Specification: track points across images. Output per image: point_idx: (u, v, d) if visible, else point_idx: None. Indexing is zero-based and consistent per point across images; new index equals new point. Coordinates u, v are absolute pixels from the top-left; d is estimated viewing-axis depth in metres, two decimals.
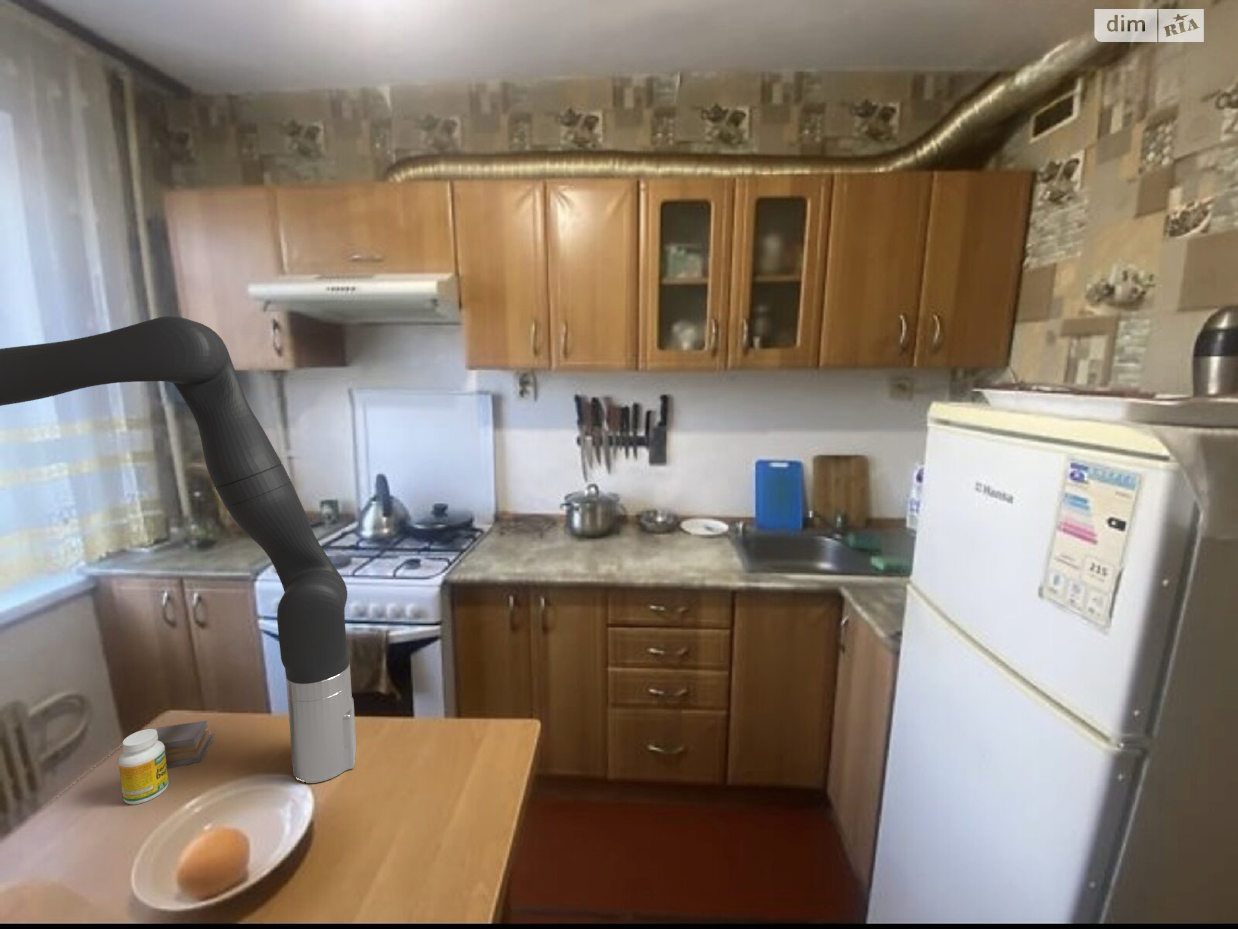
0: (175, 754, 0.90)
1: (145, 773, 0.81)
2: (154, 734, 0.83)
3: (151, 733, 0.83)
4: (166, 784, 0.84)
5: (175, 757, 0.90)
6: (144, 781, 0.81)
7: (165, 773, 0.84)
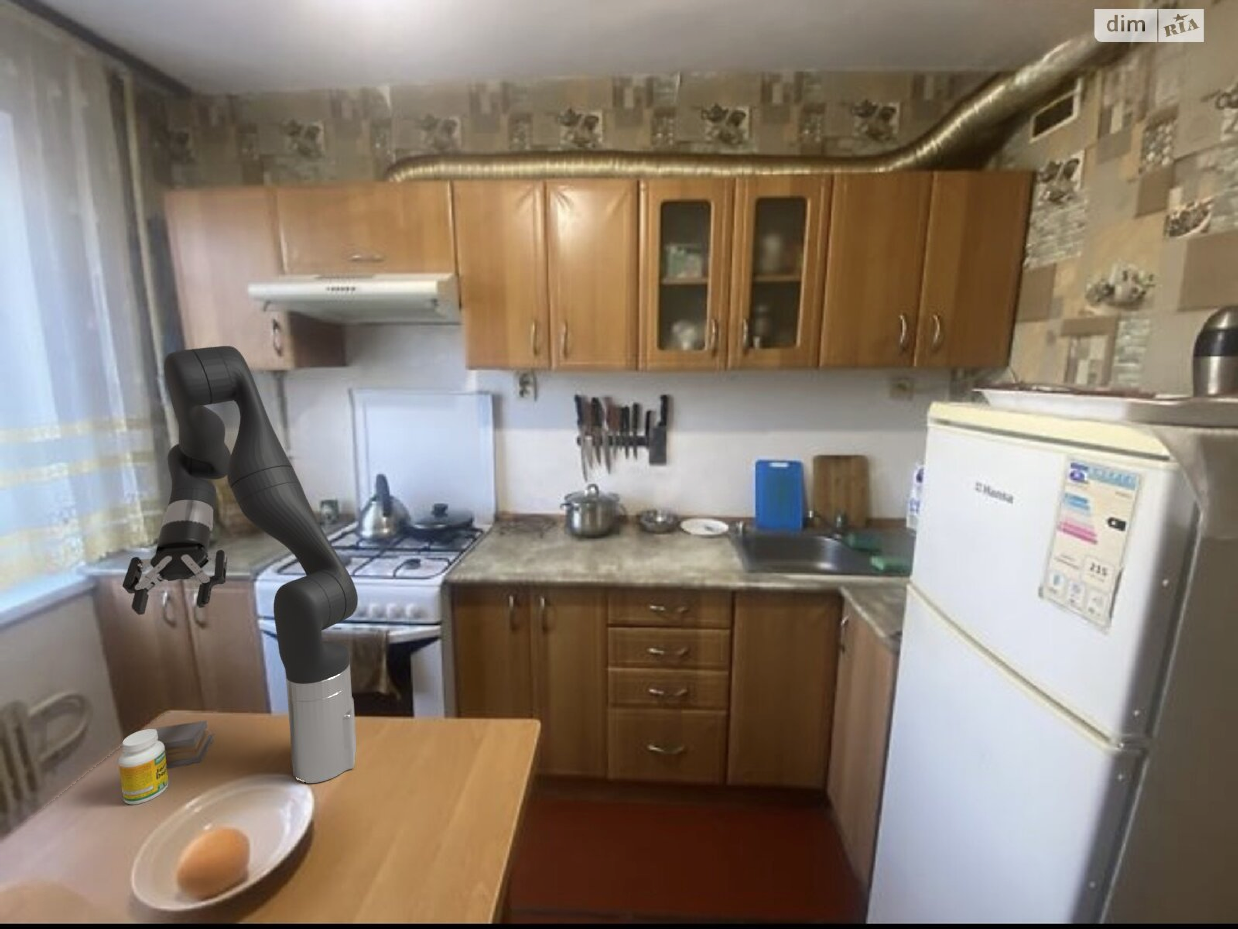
0: (175, 754, 0.90)
1: (145, 773, 0.81)
2: (154, 734, 0.83)
3: (151, 733, 0.83)
4: (166, 784, 0.84)
5: (175, 757, 0.90)
6: (144, 781, 0.81)
7: (165, 773, 0.84)
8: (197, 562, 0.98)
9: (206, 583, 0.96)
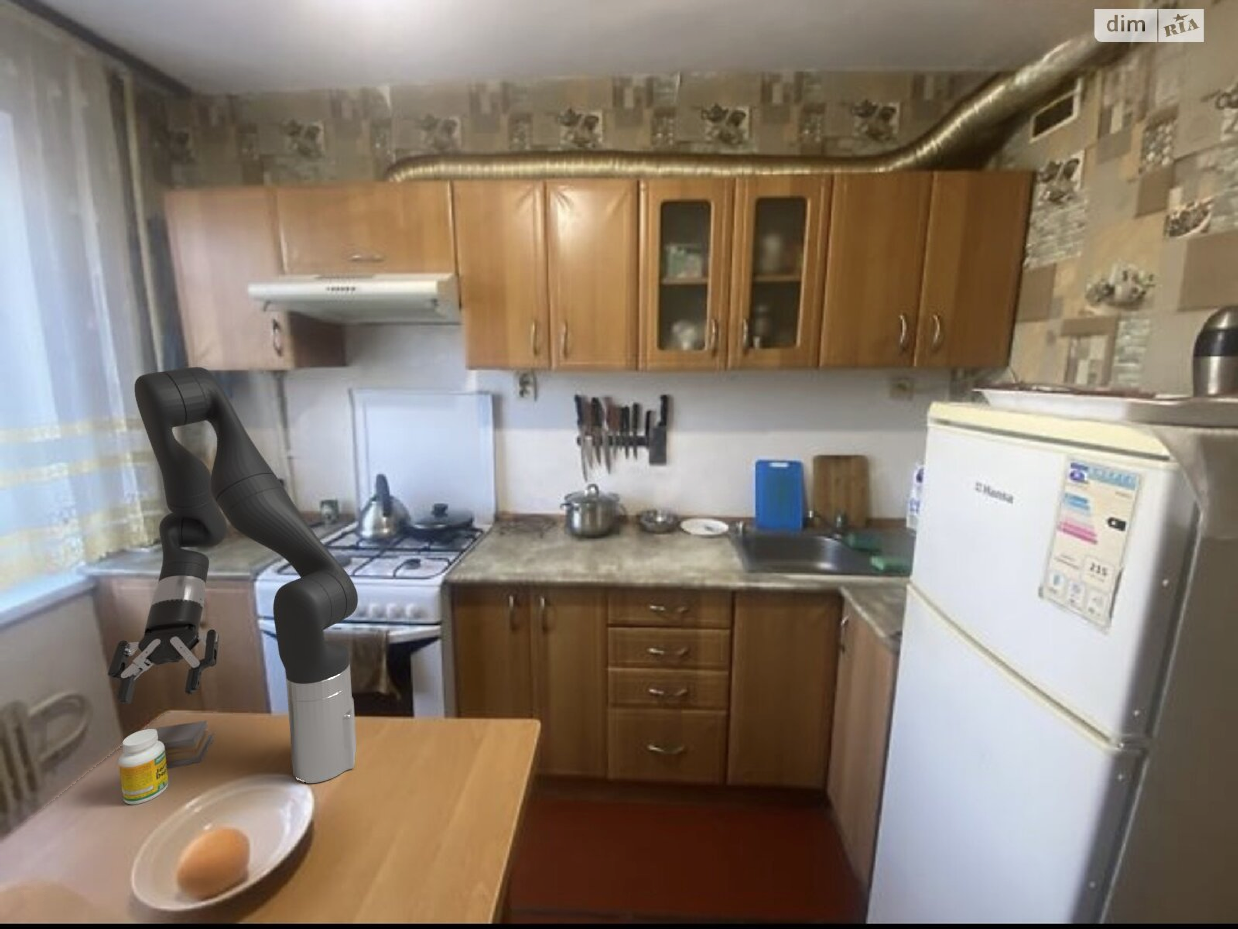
0: (175, 754, 0.90)
1: (145, 773, 0.81)
2: (154, 734, 0.83)
3: (151, 733, 0.83)
4: (166, 784, 0.84)
5: (175, 757, 0.90)
6: (144, 781, 0.81)
7: (165, 773, 0.84)
8: (187, 644, 0.93)
9: (196, 667, 0.92)
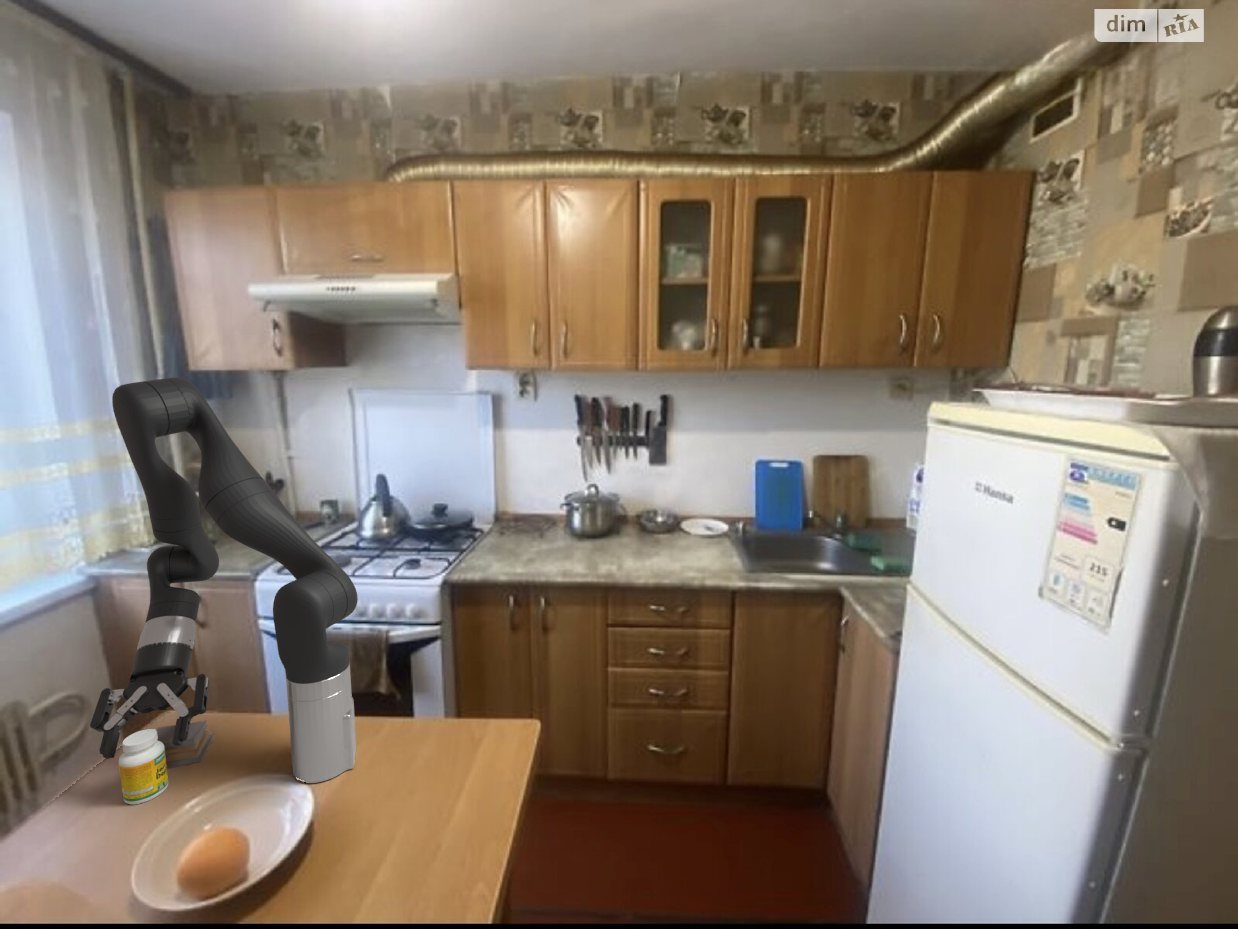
0: (175, 754, 0.90)
1: (145, 773, 0.81)
2: (154, 734, 0.83)
3: (151, 733, 0.83)
4: (166, 784, 0.84)
5: (175, 757, 0.90)
6: (144, 781, 0.81)
7: (165, 773, 0.84)
8: (175, 691, 0.88)
9: (184, 716, 0.86)
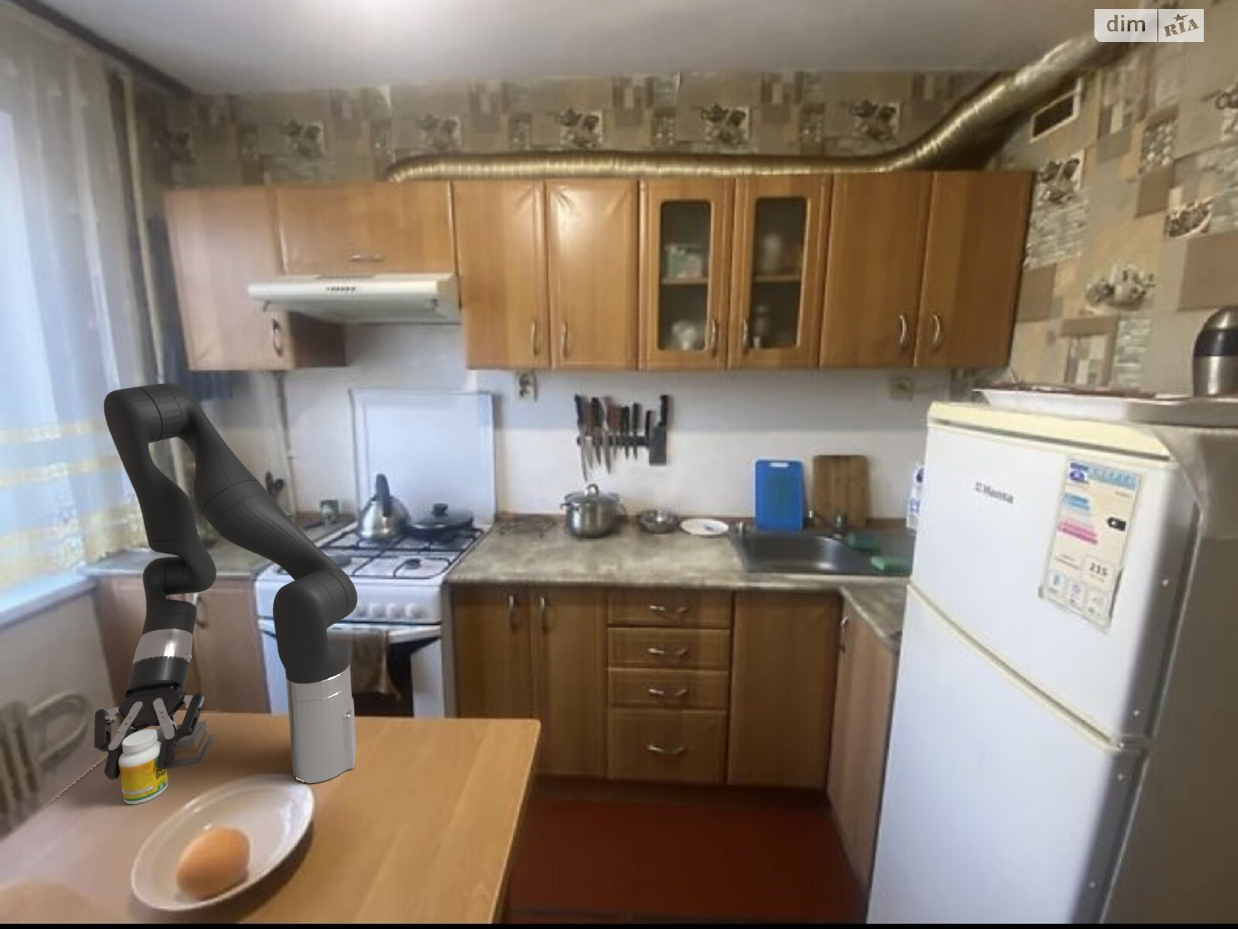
0: (175, 754, 0.90)
1: (145, 773, 0.81)
2: (154, 734, 0.83)
3: (151, 733, 0.83)
4: (166, 784, 0.84)
5: (175, 757, 0.90)
6: (144, 781, 0.81)
7: (165, 773, 0.84)
8: (169, 709, 0.86)
9: (170, 739, 0.84)
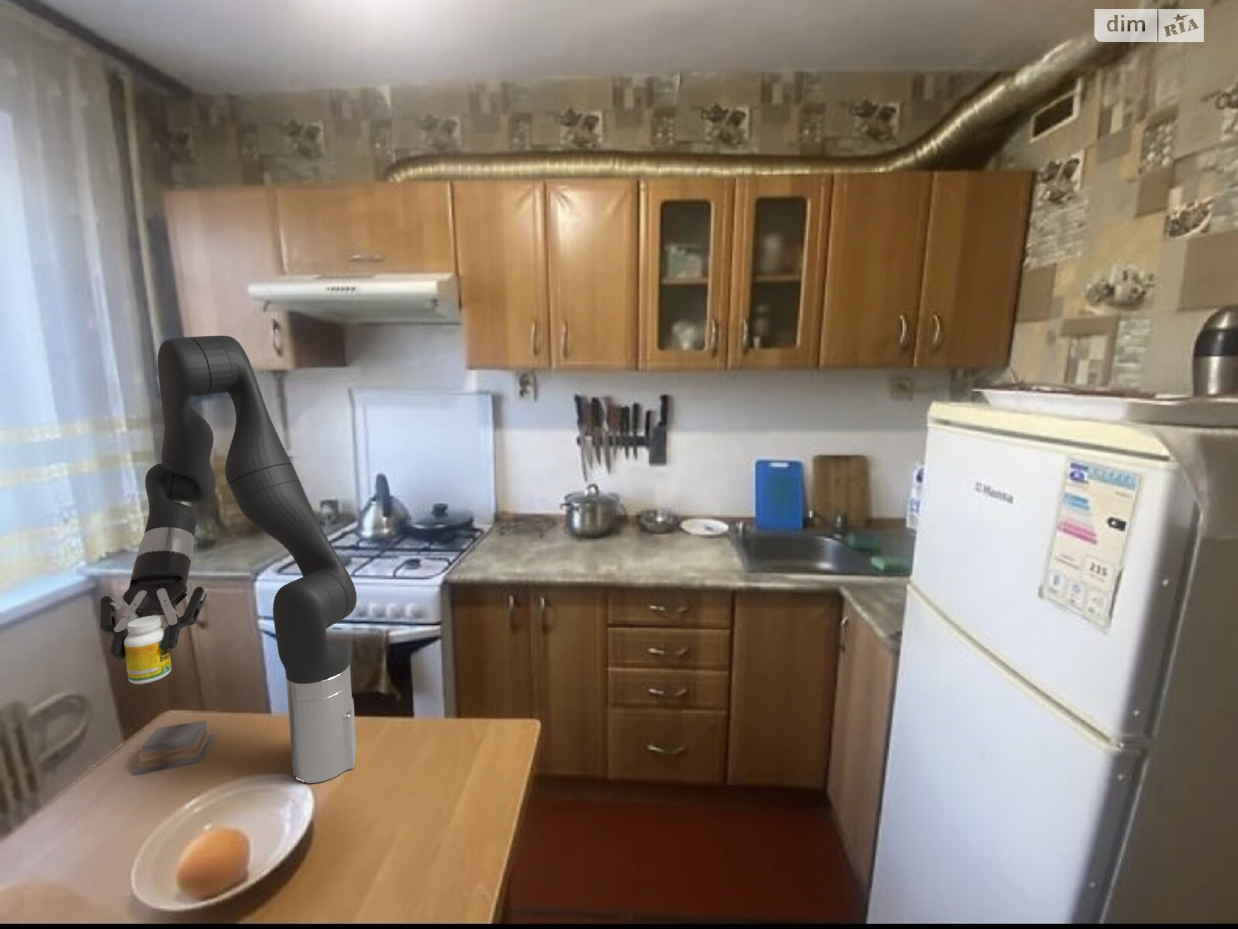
0: (175, 754, 0.90)
1: (149, 654, 0.85)
2: (158, 619, 0.86)
3: (155, 618, 0.86)
4: (169, 669, 0.88)
5: (175, 757, 0.90)
6: (148, 662, 0.85)
7: (168, 658, 0.88)
8: (172, 599, 0.90)
9: (173, 625, 0.87)
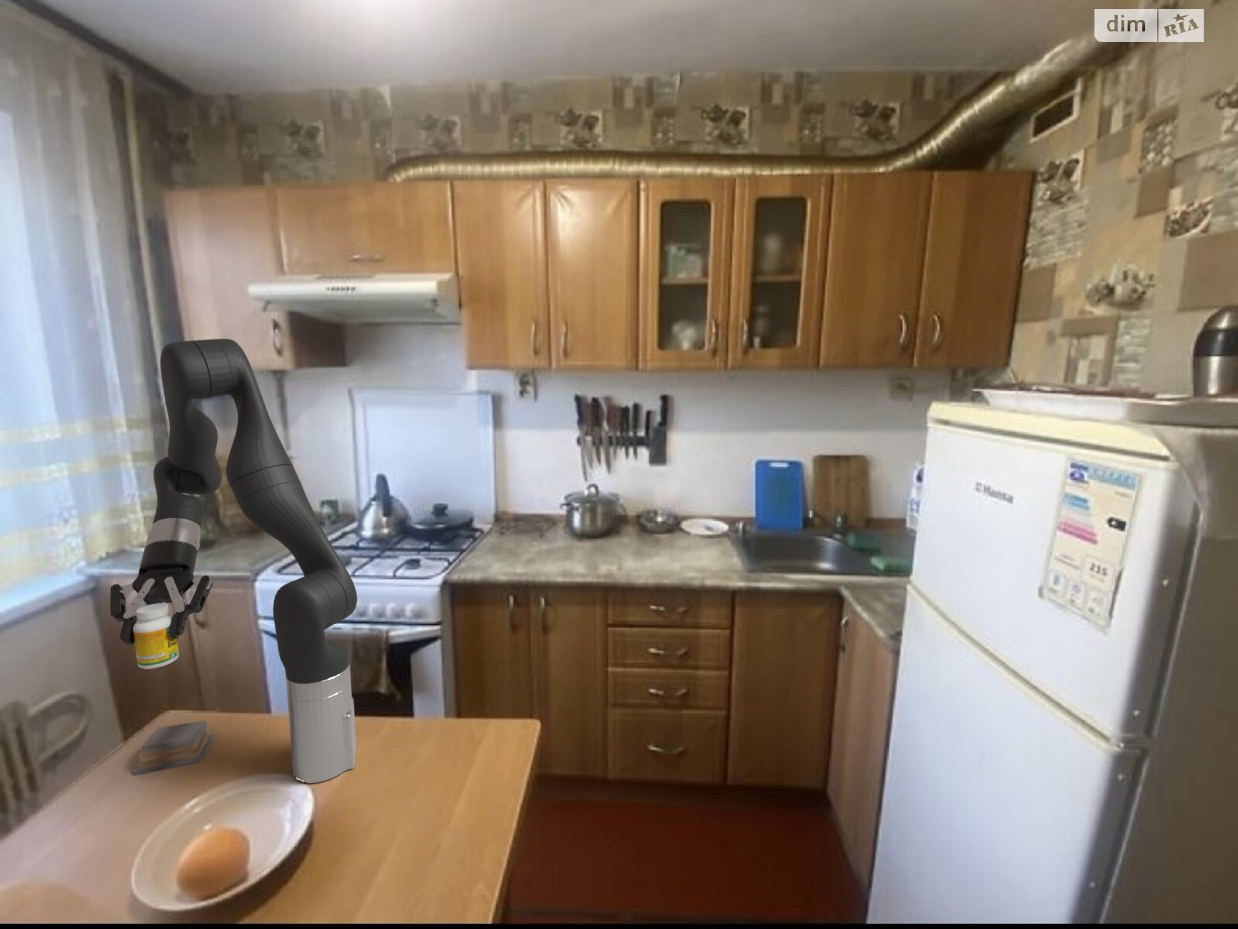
0: (175, 754, 0.90)
1: (157, 639, 0.87)
2: (165, 606, 0.89)
3: (163, 605, 0.89)
4: (177, 654, 0.90)
5: (175, 757, 0.90)
6: (157, 647, 0.87)
7: (176, 644, 0.90)
8: (179, 587, 0.92)
9: (180, 612, 0.90)
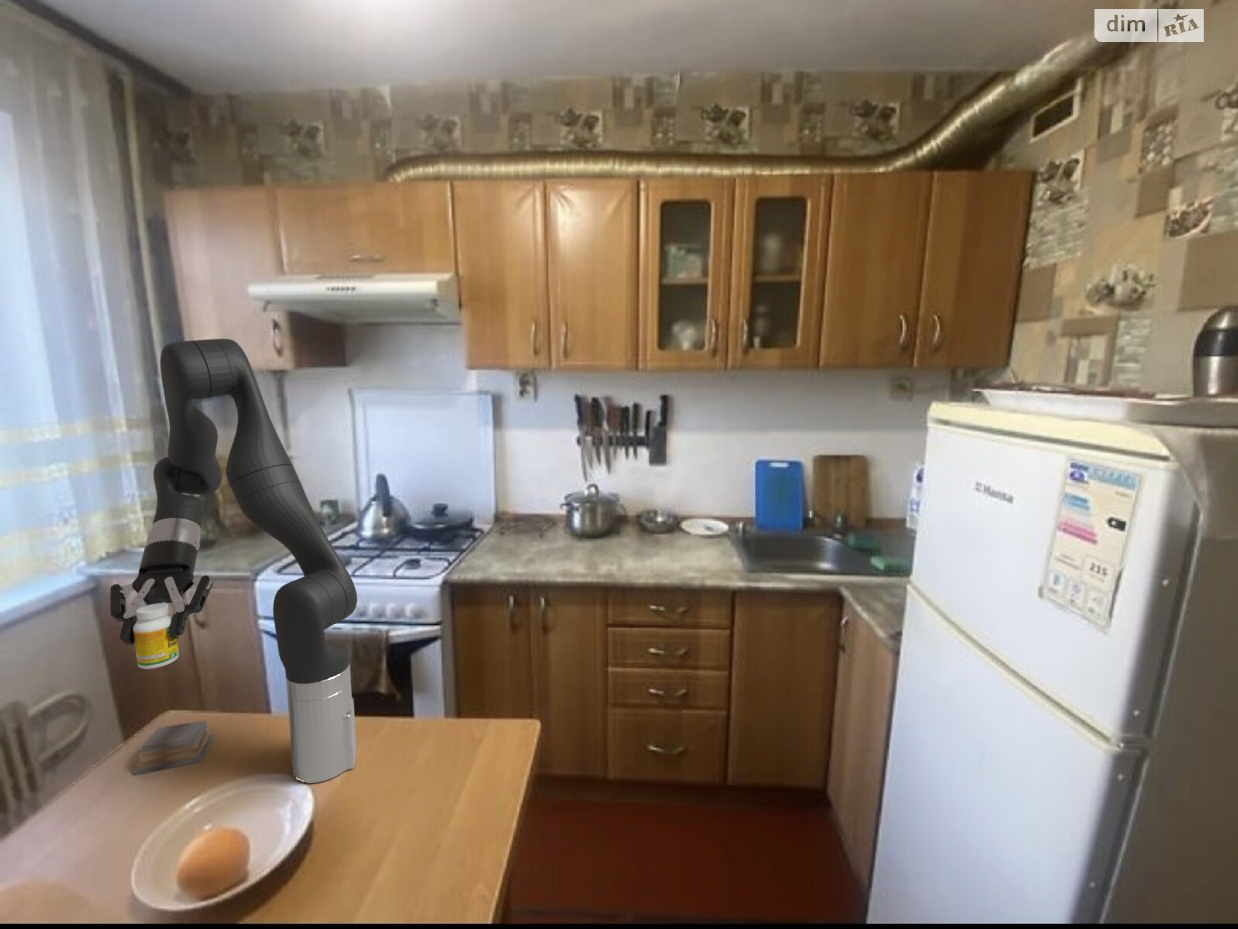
0: (175, 754, 0.90)
1: (157, 639, 0.87)
2: (165, 606, 0.89)
3: (163, 605, 0.89)
4: (177, 654, 0.90)
5: (175, 757, 0.90)
6: (157, 647, 0.87)
7: (176, 644, 0.90)
8: (179, 587, 0.92)
9: (180, 612, 0.90)
